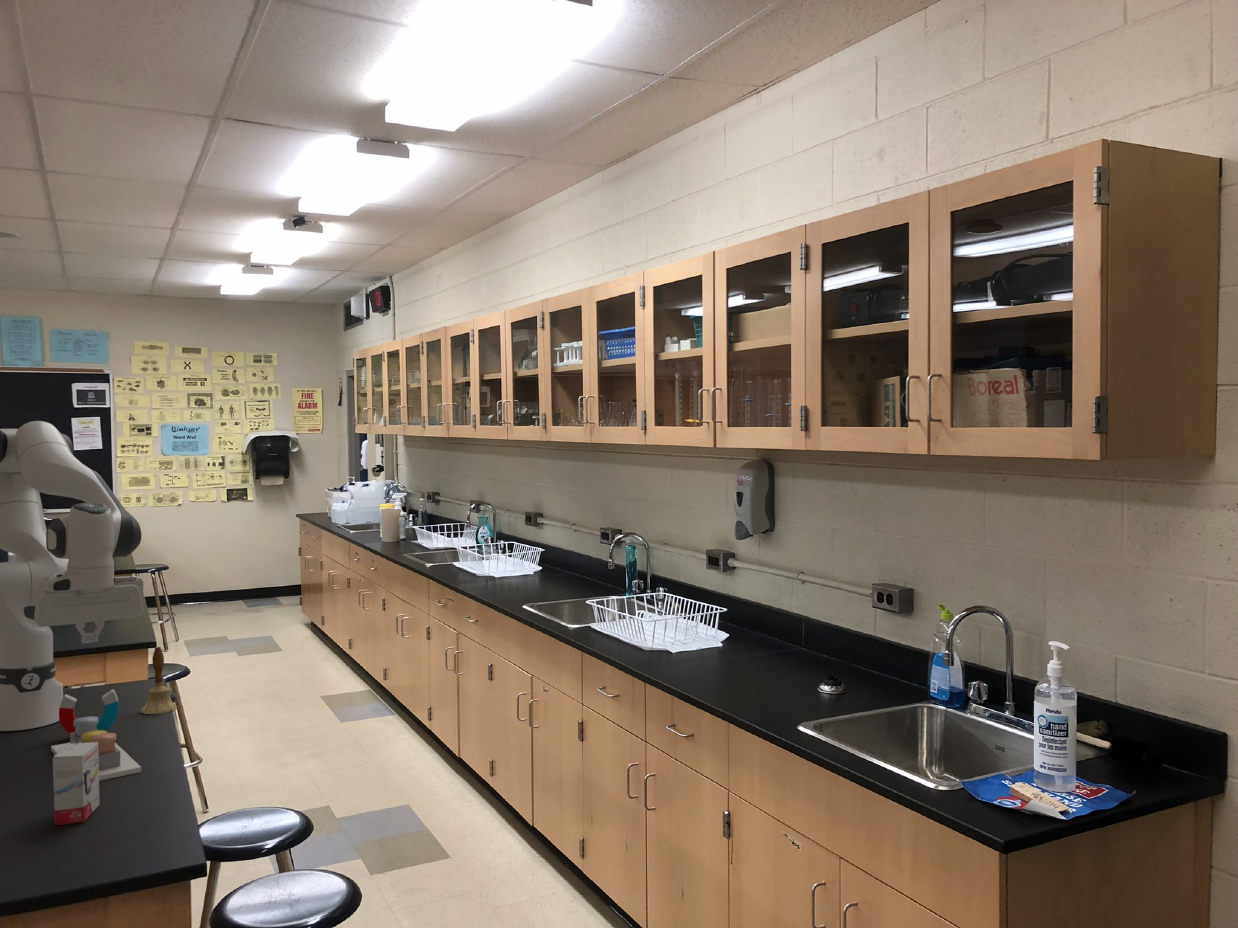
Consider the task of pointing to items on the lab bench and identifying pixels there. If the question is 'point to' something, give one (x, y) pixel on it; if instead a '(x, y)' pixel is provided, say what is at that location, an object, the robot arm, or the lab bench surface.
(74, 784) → the ink box
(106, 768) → the console
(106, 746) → the terracotta button
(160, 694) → the hand bell
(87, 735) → the ochre button
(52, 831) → the lab bench surface
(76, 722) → the slate button
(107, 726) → the magnet
